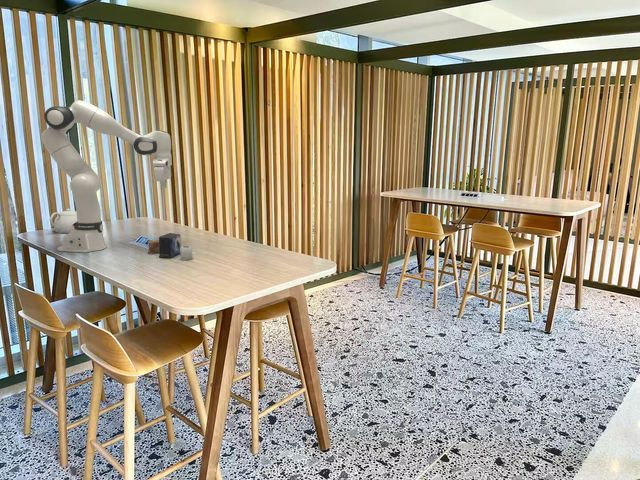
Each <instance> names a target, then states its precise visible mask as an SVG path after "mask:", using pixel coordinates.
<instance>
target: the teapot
mask: <svg viewBox="0 0 640 480" xmlns="http://www.w3.org/2000/svg"><path fill="white" fill-rule="evenodd" d="M55 215H57V216H56V217H55V219H54V216H55ZM53 219H54V220H53ZM76 222H77V213H76V210H72V208H66V210H63V211H61V212H60V213H59V212H53V213H52V214H51V215H50V217H49V223H50V225H51V226H52V227H53V230H54V232H56V233H58V234H59V233H60V234H68V233H70V232H71V231H72V230H74V226H73V225H72V224H74V223H76Z"/></svg>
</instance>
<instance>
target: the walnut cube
mask: <svg viewBox="0 0 640 480" xmlns="http://www.w3.org/2000/svg"><path fill="white" fill-rule="evenodd" d="M147 242H148V243H147V244H148V255H159V239H149V240H148V241H147Z"/></svg>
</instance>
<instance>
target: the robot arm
mask: <svg viewBox="0 0 640 480" xmlns="http://www.w3.org/2000/svg"><path fill="white" fill-rule="evenodd" d="M43 116H44V121H45V123H46V125H47V126H48V127H47V129H44V131H42V132H41V134H40V140H41V141H42V143H43V146H44V147H45V149H46V151H47V152H48V153H49V155H50V156H51V158H52V159H53V160H54V162H55V163H56V164H57V166H58V167H59V168H60V170H61V171H63V173H66V175H67V176H68V177H69V178H70V179H71V180H70V183H69V188H70V191H71V193H72V196H73V201H74V204H75V211H76V213H77V222H76V223H74V224H72V225H73V226H74V230H72V231H71V232H70V233H66V235H65V236H63V238H62V244H61V245H60V246H58V247H57V251H58V252H69V253H72V252H73V253H90V252H95V251H101V250H105V249H107V244H106V241H105V238H104V233H103V232H104V225H103V221H102V212H101V211H102V210H101V204H100V202H99V199H98V198H99V197H98V194H97V192H98V191H99V190H100V189H101V187H102V178H101V177H100V176H99V174H97V173H96V171H94V169H93V168H92V167H91V166H90V165H89V164H88V163H87V161H85V159H84V158H83V157H82V156H81V154H80V153H79V152H78V151H77V149H76V147H74V145H73V144H72V143H71V141H70V140H69V137H68V136H67V134H69V132H70V131H71V130H72V129H73V128H74V127H75V125H76V124H81V125H82V126H85V127H87V128H89V129H90V130H93V131H94V132H96V133H100V134H103V135H108V136H114V137H117V138H119V139H121V140H123V141H125V142H127V143H128V144H130V145H132V146H133V149H134V151H135V152H136V153H137V154H138V155H141V156H150V155H153V161H152V167H153V175H154V180H155V182H160V186H161V187H160V188H161V189H162V190H165V189H166V188H167V184H168V183H167V182H168V181H167V180H169V179H171V178H172V167H171V166H172V165H173V163H172V161H173V160H172V141H171V135H170V134H169V133H168V132H167V131H164V130H159V129H154V130H153V131H151V132H149V133H147V134H144V135H141V134H138V133H137V132H135V131H133V130H131V129H129V128H128V127H126V126H124V125H122V124H121V123H120V122H119V121H117V120H116V119H115V118H114V117H113V116H111V115H110V114H109V113H107V111H105V110H103V109H101V108H100V107H98V106H96V105H93V103H92V104H91V103H89V102H87V101H84V100H82V99H81V100H80V99H78V100H75V101H74V102H73V103H72V104H71V105H70V106H69V107H68V106H61V105H60V106H57V105H56V106H55V105H54V106H51V107H48V108H47V109H46V110H45V112H44V115H43Z"/></svg>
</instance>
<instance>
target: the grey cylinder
mask: <svg viewBox="0 0 640 480" xmlns="http://www.w3.org/2000/svg"><path fill="white" fill-rule="evenodd" d="M179 255H180V260H181V261H190V260H193V246H192V245H181V247H180V254H179Z"/></svg>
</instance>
